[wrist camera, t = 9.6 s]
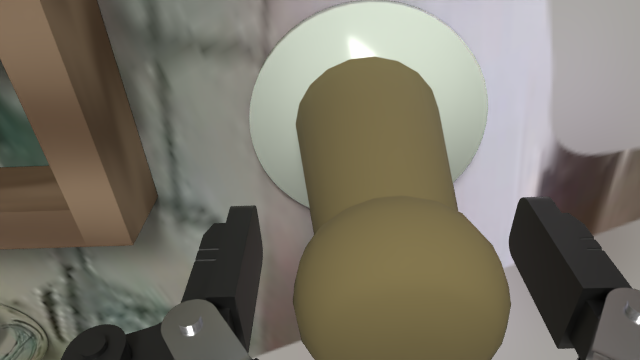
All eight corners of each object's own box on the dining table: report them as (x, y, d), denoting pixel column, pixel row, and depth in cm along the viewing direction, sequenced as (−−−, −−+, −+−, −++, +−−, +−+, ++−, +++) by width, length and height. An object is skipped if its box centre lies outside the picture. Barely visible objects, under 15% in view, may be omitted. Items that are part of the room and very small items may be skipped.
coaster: (235, 5, 17) (232, 10, 16) (502, -7, 16) (509, -2, 16) (265, 212, 22) (263, 222, 22) (464, 205, 22) (469, 215, 21)
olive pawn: (447, 168, 20) (552, 412, 11) (317, 197, 21) (314, 444, 12) (428, 37, 17) (557, 227, 8) (275, 79, 18) (225, 293, 8)
